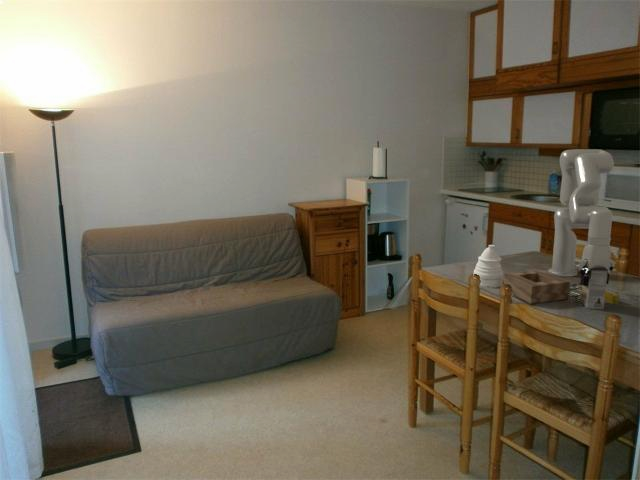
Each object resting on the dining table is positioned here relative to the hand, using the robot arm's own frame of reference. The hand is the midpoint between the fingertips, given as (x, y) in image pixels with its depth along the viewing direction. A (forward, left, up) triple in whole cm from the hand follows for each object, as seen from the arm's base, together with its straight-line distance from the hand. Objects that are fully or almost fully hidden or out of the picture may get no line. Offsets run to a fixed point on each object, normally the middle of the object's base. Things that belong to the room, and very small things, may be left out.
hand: (594, 284), depth 202 cm
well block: (+14, -16, -9) cm, 23 cm away
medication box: (-10, -4, -9) cm, 14 cm away
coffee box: (0, 0, -9) cm, 9 cm away
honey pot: (+22, -38, -9) cm, 45 cm away
